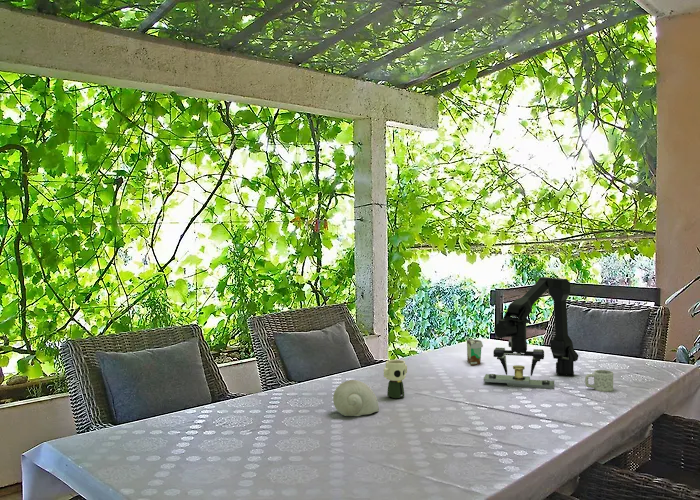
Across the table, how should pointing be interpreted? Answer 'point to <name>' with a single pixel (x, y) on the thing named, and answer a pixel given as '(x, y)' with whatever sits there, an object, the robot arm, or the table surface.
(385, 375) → the character mug
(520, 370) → the brass pin
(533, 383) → the plate with square hole
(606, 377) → the mug
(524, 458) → the table surface
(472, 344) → the food container
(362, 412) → the seashell
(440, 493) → the table surface
